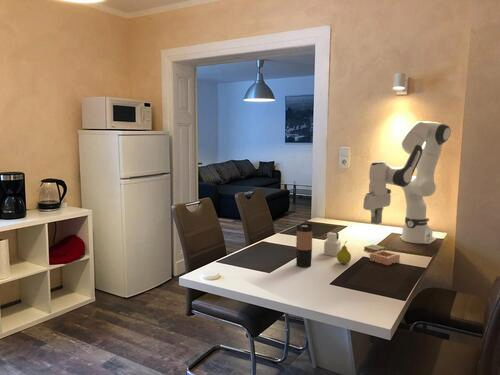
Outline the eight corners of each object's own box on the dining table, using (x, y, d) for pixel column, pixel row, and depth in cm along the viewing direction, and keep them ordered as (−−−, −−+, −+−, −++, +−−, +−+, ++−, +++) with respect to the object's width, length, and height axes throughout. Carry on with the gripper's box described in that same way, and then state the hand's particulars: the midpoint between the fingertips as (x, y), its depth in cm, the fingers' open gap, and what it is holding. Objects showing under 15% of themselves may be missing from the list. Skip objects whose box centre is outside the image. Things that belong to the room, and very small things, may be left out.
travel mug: (311, 268, 193) (312, 227, 191) (295, 267, 195) (296, 226, 192) (311, 263, 201) (312, 223, 198) (296, 262, 202) (297, 223, 199)
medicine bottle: (327, 251, 221) (328, 230, 220) (340, 253, 218) (341, 231, 217) (323, 254, 215) (324, 232, 214) (337, 256, 212) (337, 234, 210)
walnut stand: (372, 247, 229) (372, 244, 229) (385, 251, 223) (385, 247, 223) (364, 250, 224) (364, 246, 224) (376, 253, 218) (376, 249, 218)
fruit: (333, 262, 203) (334, 238, 201) (345, 260, 205) (346, 237, 204) (341, 266, 197) (342, 242, 195) (353, 264, 199) (354, 241, 197)
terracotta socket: (381, 256, 213) (381, 250, 212) (399, 261, 205) (399, 254, 204) (369, 260, 206) (369, 253, 206) (387, 265, 198) (388, 258, 198)
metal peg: (375, 221, 225) (375, 207, 224) (381, 223, 222) (382, 208, 221) (371, 222, 222) (371, 208, 221) (377, 224, 219) (377, 209, 218)
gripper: (370, 193, 211) (370, 219, 213) (393, 189, 223) (392, 214, 225) (360, 192, 216) (360, 217, 218) (383, 188, 228) (382, 212, 230)
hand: (376, 216), depth 221 cm, fingers closed on metal peg, 4 cm apart
